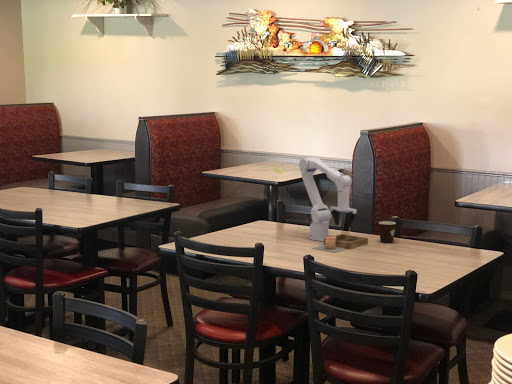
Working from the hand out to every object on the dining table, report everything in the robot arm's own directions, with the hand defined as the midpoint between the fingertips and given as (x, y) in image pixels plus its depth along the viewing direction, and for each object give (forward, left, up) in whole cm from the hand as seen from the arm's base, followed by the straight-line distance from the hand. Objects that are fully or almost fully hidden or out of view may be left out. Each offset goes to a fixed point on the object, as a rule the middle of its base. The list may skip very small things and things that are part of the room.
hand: (343, 226), depth 344 cm
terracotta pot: (+1, -13, -9) cm, 16 cm away
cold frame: (+1, +1, -9) cm, 10 cm away
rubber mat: (+1, -14, -9) cm, 16 cm away
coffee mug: (+15, +20, -10) cm, 27 cm away
